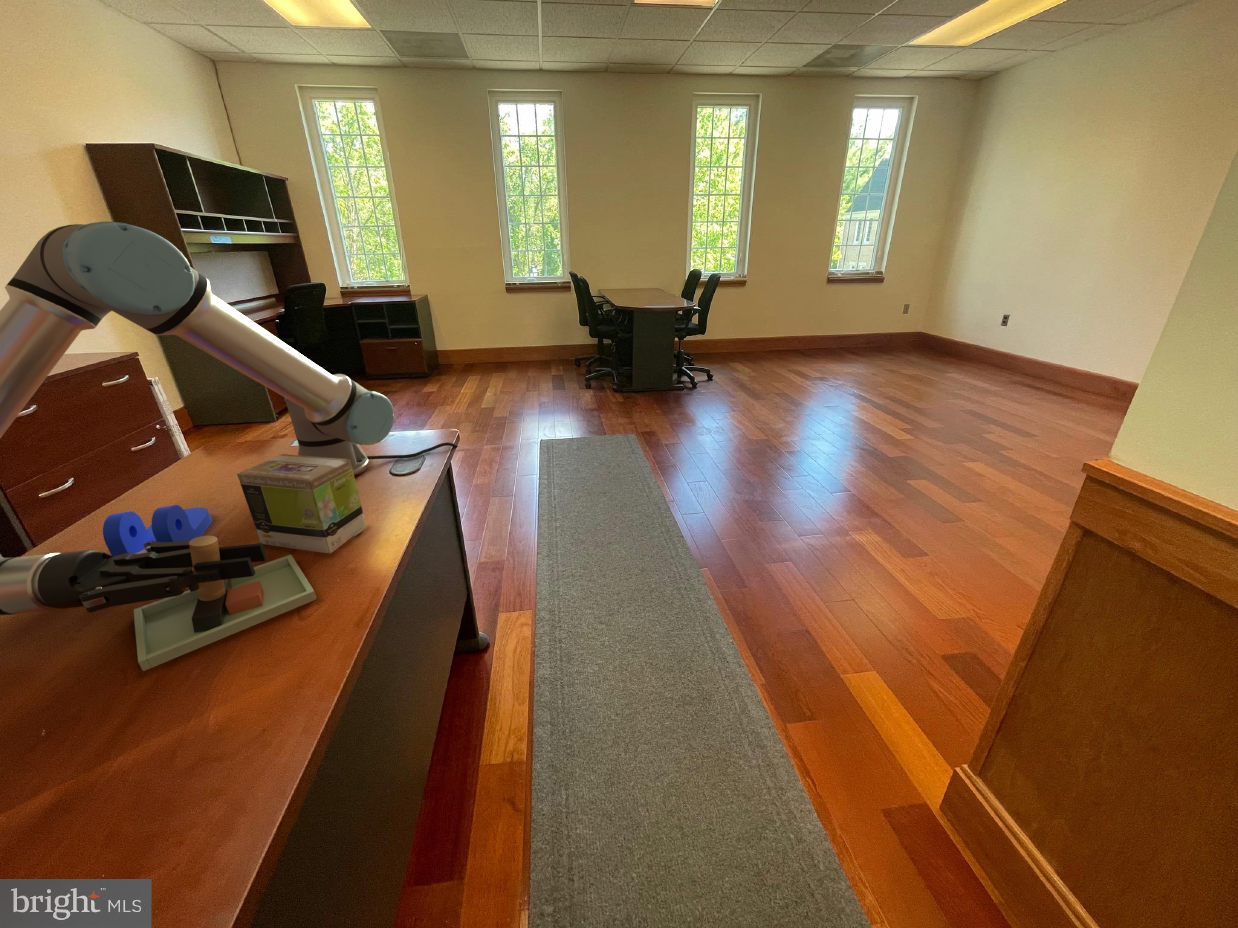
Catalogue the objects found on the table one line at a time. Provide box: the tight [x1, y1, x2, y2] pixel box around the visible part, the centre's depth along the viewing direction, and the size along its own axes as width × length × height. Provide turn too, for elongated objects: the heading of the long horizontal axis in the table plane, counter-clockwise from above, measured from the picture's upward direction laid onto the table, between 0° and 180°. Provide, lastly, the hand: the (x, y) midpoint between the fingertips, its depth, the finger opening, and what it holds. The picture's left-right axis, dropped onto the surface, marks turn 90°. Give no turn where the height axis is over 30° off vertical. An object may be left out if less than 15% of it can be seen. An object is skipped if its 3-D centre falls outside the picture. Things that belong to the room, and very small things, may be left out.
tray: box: [133, 554, 317, 672], centre depth 70 cm, size 20×14×2 cm
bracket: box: [102, 504, 213, 556], centre depth 86 cm, size 18×8×9 cm, turn 22°
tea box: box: [236, 453, 367, 554], centre depth 87 cm, size 15×10×15 cm, turn 78°
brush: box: [189, 535, 232, 633], centre depth 68 cm, size 3×10×12 cm, turn 31°
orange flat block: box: [225, 581, 263, 615], centre depth 71 cm, size 4×4×2 cm
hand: (257, 559), depth 69 cm, fingers closed on brush, 3 cm apart
